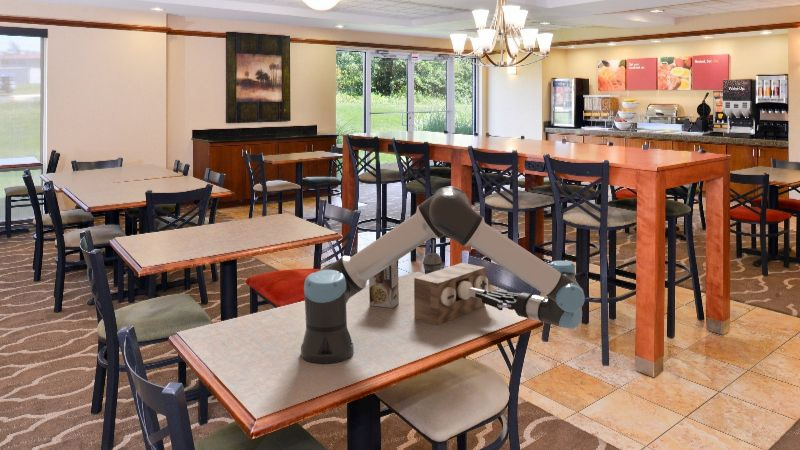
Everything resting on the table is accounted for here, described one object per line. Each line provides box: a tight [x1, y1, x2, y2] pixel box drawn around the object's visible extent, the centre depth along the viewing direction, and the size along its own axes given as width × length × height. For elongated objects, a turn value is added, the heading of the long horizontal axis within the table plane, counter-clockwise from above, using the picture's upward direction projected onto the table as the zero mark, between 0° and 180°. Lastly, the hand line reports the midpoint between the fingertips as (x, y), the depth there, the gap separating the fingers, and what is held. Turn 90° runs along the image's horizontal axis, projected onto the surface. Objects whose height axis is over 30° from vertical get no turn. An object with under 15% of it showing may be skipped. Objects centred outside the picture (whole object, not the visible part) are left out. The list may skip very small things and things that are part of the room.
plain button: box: [457, 281, 472, 300], centre depth 215 cm, size 6×2×6 cm, turn 137°
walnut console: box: [413, 262, 489, 326], centre depth 219 cm, size 26×12×14 cm, turn 137°
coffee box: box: [368, 260, 400, 309], centre depth 228 cm, size 9×6×16 cm
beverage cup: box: [422, 239, 443, 275], centre depth 241 cm, size 7×7×20 cm
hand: (470, 291), depth 214 cm, fingers closed
